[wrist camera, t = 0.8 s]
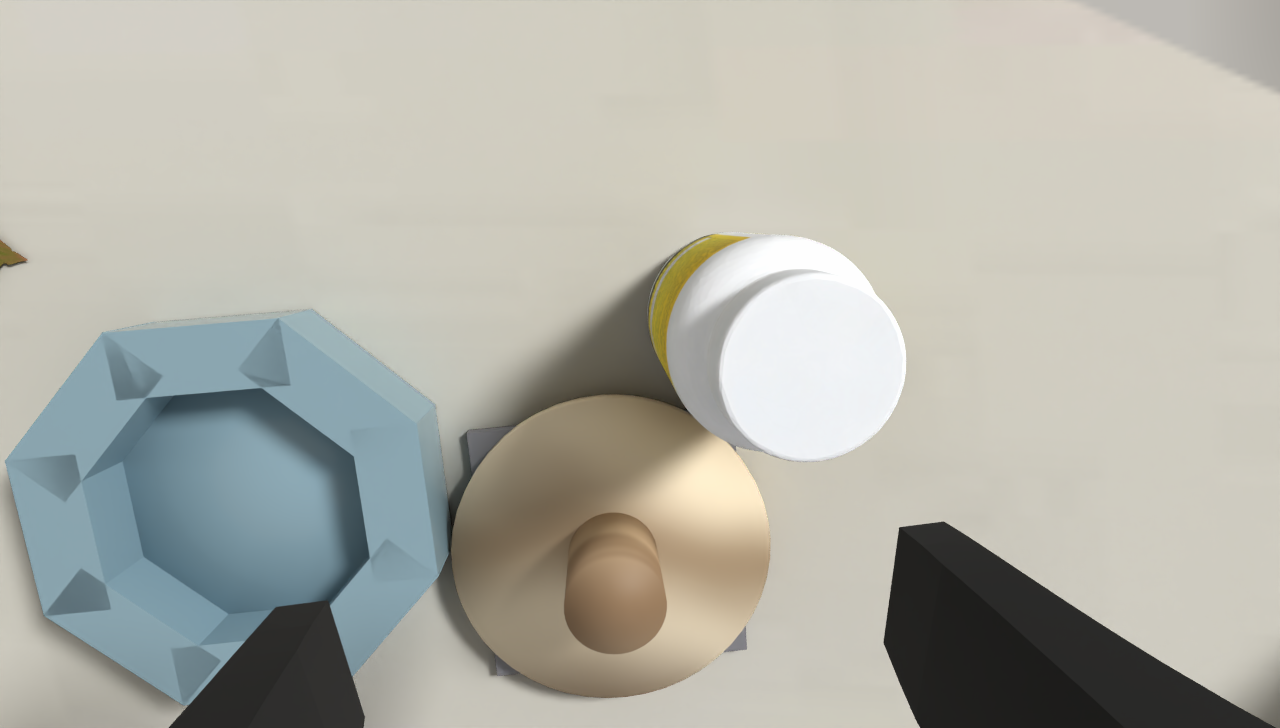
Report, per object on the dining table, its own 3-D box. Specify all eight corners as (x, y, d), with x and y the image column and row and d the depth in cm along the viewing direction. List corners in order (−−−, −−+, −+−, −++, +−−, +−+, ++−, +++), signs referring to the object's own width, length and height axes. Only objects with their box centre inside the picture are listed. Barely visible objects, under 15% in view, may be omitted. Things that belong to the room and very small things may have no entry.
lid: (772, 668, 26) (805, 750, 22) (475, 700, 26) (451, 789, 22) (758, 380, 24) (791, 411, 20) (436, 409, 24) (402, 446, 20)
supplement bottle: (646, 393, 25) (678, 498, 15) (645, 232, 24) (679, 233, 14) (802, 390, 25) (932, 491, 15) (807, 231, 24) (950, 231, 14)
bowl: (466, 634, 26) (452, 677, 23) (120, 670, 25) (69, 718, 23) (421, 299, 23) (400, 307, 21) (41, 331, 23) (-26, 342, 20)
